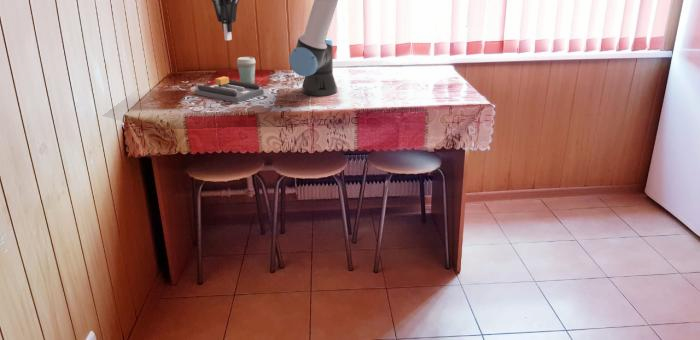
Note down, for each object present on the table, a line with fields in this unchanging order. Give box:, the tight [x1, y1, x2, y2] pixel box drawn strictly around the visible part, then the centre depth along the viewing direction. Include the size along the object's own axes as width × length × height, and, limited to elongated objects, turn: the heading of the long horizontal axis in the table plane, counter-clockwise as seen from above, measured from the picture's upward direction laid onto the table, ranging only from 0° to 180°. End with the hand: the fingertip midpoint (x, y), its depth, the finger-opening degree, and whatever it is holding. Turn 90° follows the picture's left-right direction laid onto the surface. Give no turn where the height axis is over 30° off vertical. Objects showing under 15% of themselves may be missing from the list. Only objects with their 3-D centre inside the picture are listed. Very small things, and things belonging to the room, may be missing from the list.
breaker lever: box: [214, 76, 230, 88], centre depth 219 cm, size 3×5×4 cm, turn 148°
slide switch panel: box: [195, 83, 264, 103], centre depth 219 cm, size 24×16×3 cm, turn 59°
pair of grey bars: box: [197, 79, 261, 96], centre depth 218 cm, size 21×16×2 cm
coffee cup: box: [236, 56, 257, 84], centre depth 233 cm, size 8×9×12 cm
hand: (228, 39), depth 212 cm, fingers closed
